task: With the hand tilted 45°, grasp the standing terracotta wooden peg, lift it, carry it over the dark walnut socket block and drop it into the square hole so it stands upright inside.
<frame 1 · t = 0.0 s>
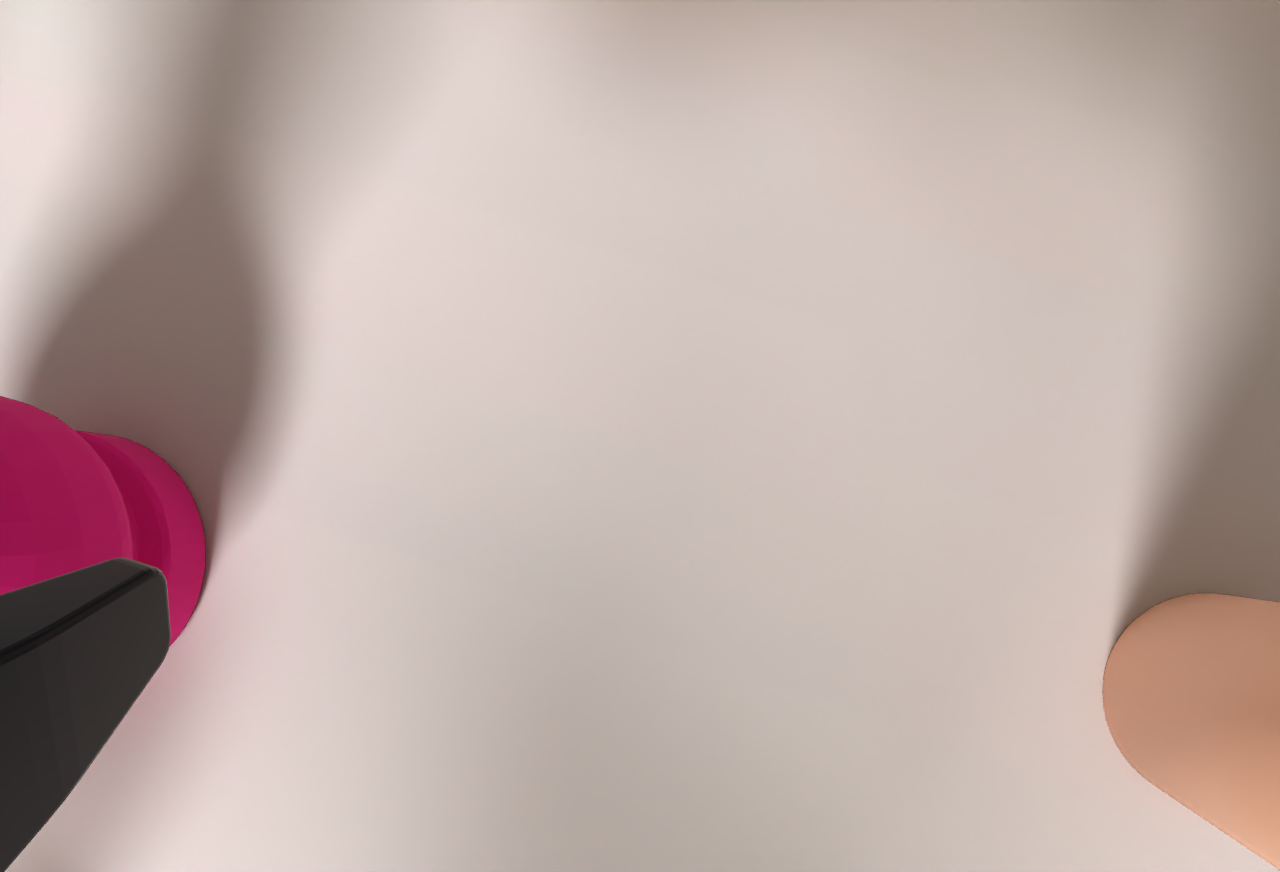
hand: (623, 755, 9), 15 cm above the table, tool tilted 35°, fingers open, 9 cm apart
peg: (1212, 698, 22), on the table
pepper mill: (97, 558, 26), on the table
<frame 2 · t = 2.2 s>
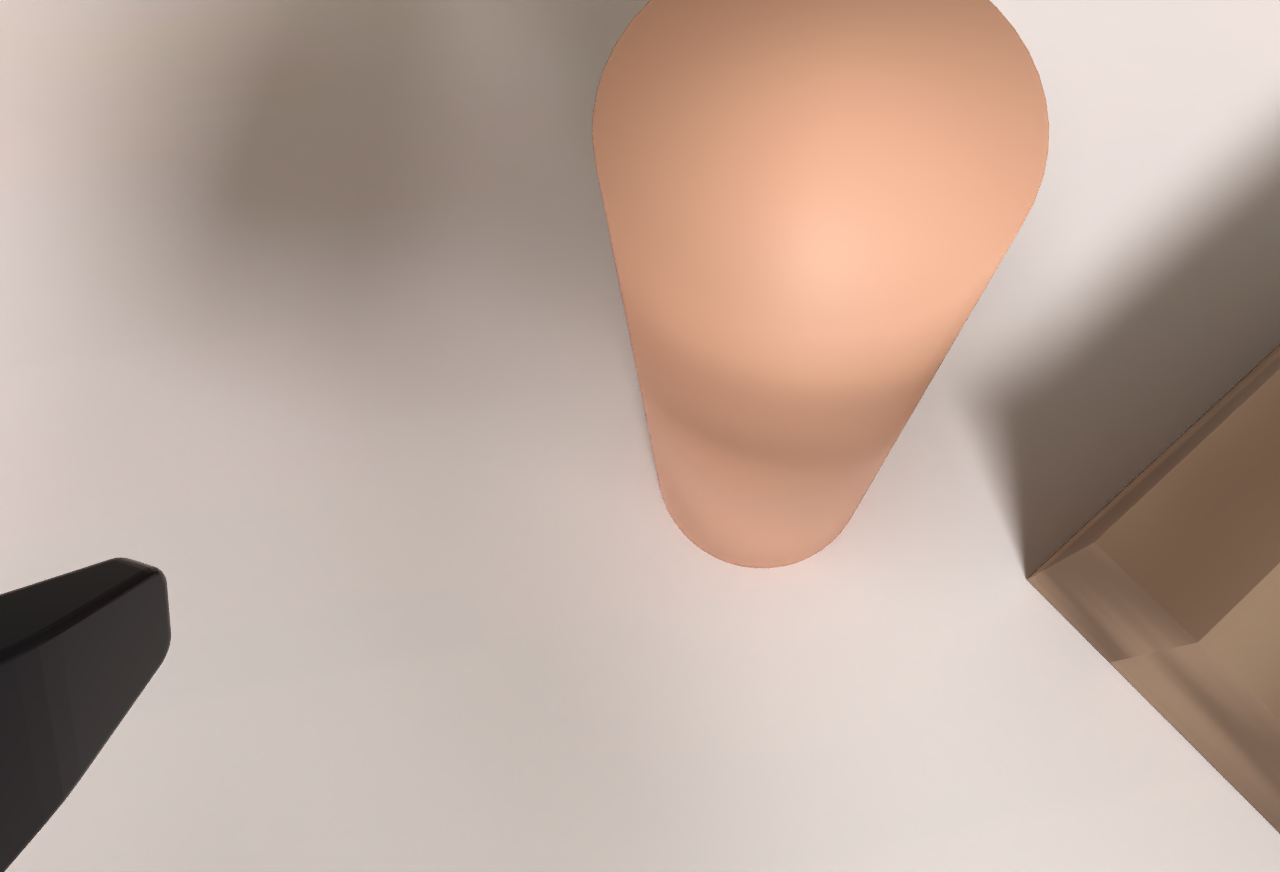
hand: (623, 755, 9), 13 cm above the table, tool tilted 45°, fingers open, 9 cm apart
peg: (759, 466, 23), on the table
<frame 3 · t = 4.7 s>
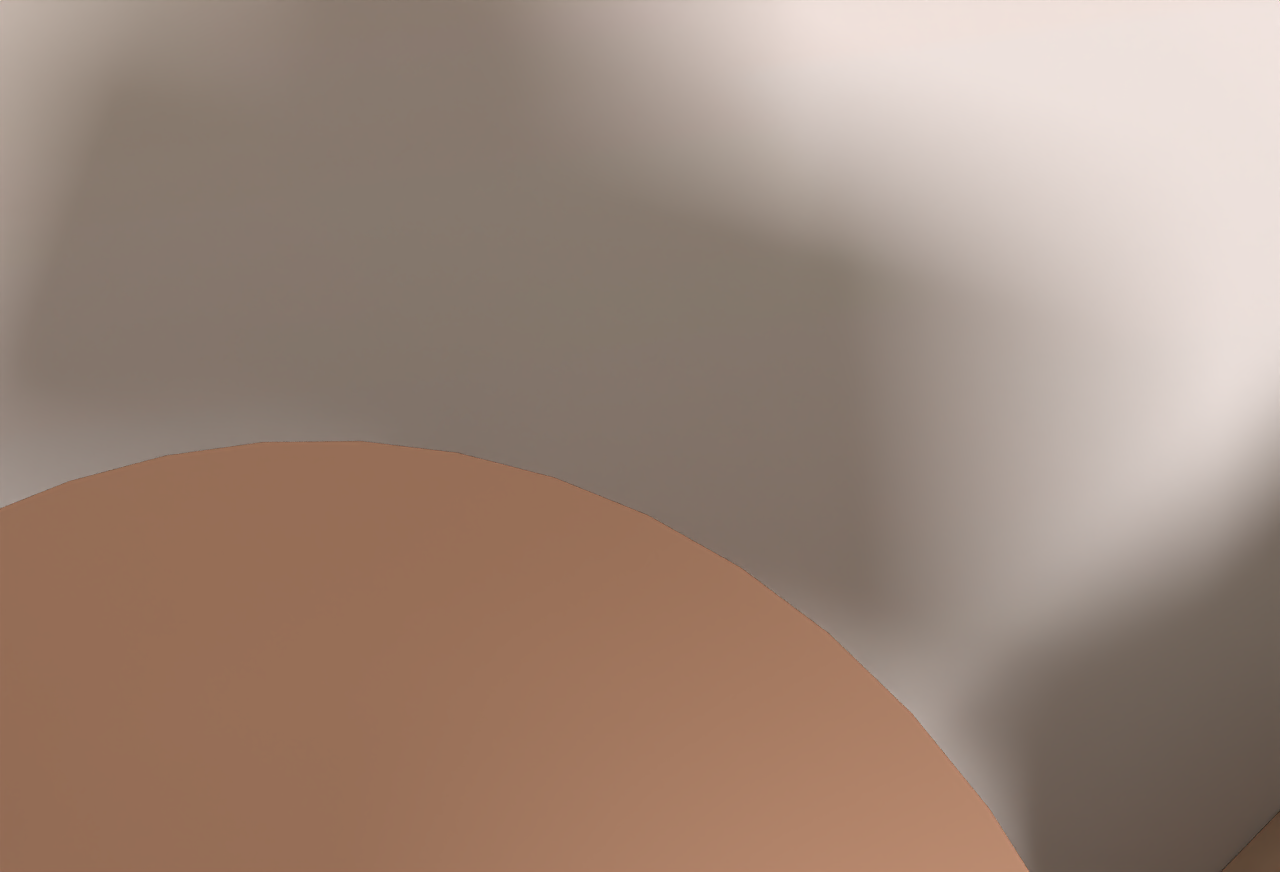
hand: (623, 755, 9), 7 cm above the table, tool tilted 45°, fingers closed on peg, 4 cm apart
peg: (631, 849, 15), on the table, touching gripper
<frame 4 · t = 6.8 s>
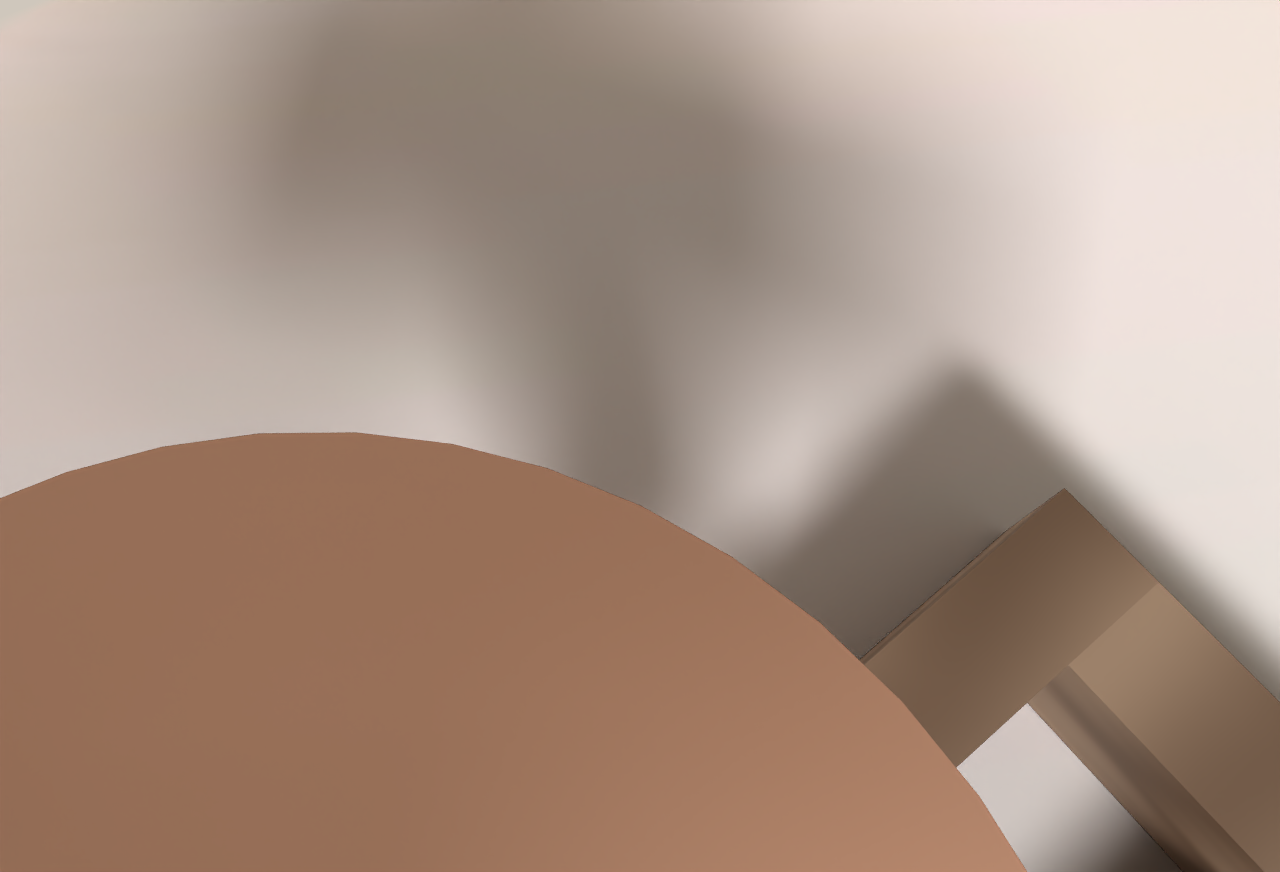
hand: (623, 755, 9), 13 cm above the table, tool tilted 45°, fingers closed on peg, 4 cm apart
peg: (630, 847, 15), point 7 cm above the table, touching gripper
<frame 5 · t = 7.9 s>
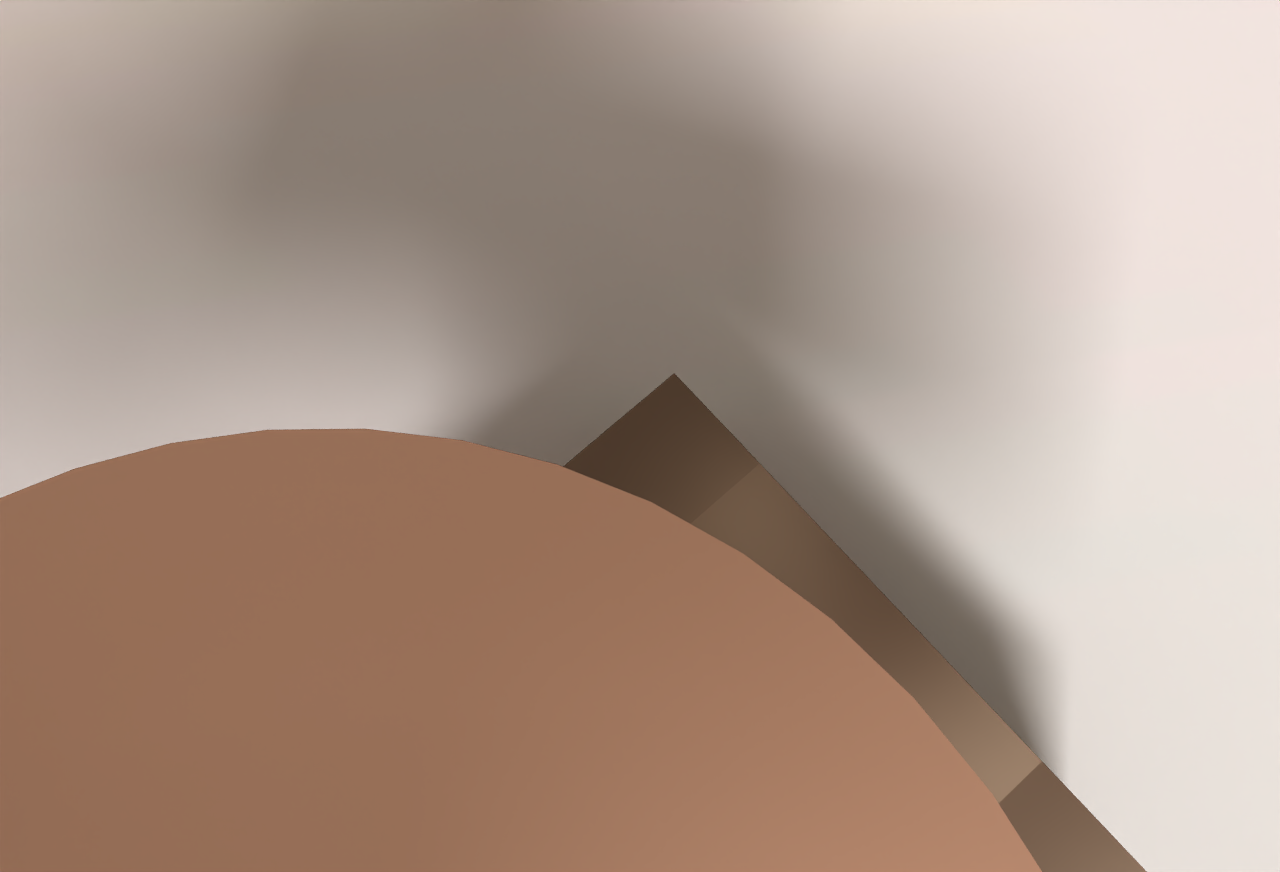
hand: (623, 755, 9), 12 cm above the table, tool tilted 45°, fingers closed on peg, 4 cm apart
peg: (632, 847, 15), point 5 cm above the table, touching gripper
socket: (656, 818, 20), on the table
when the fingers open (9 cm above the table, at t = 8.9 s): peg drops 2 cm, resting in socket.
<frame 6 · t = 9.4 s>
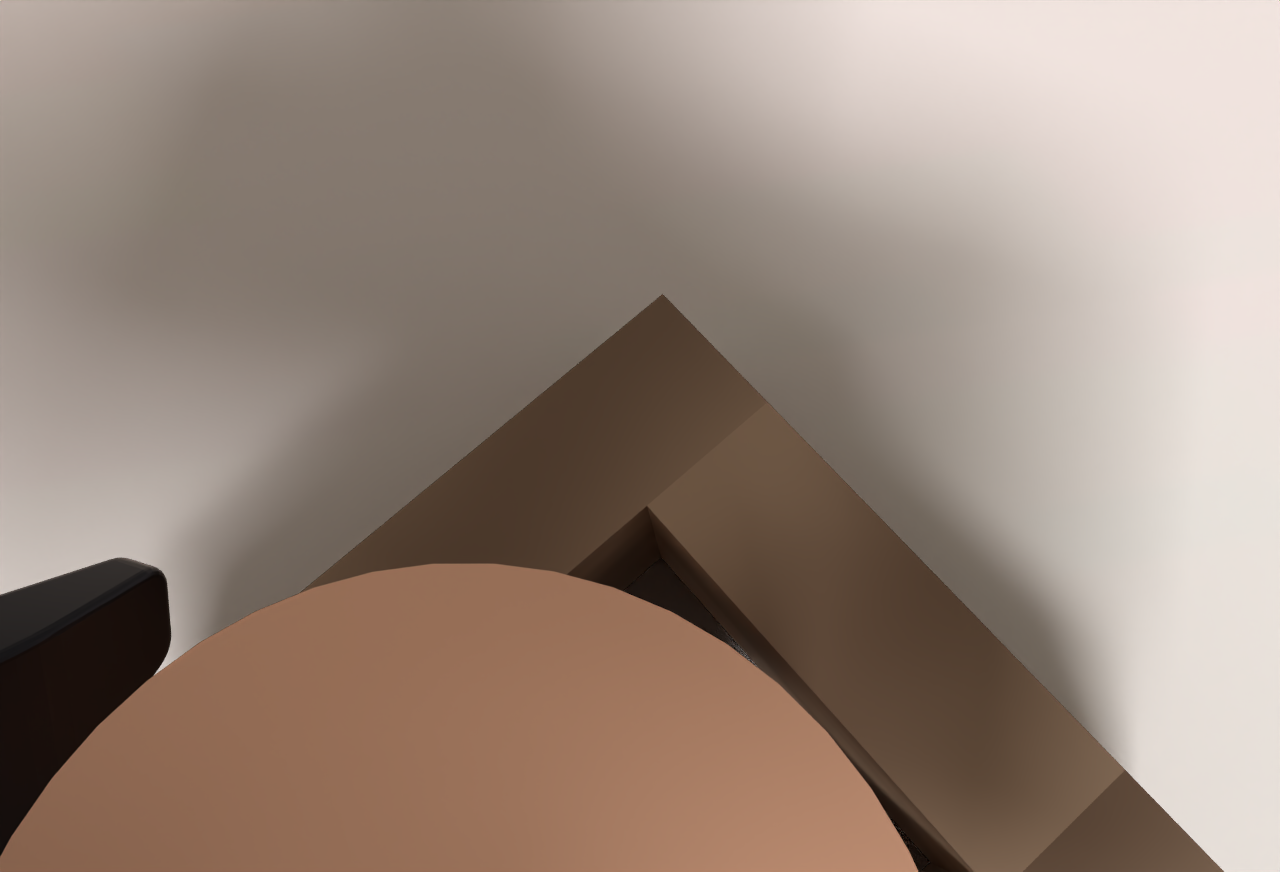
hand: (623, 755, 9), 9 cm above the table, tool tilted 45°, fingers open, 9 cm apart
peg: (641, 838, 17), resting in socket
socket: (641, 837, 17), on the table
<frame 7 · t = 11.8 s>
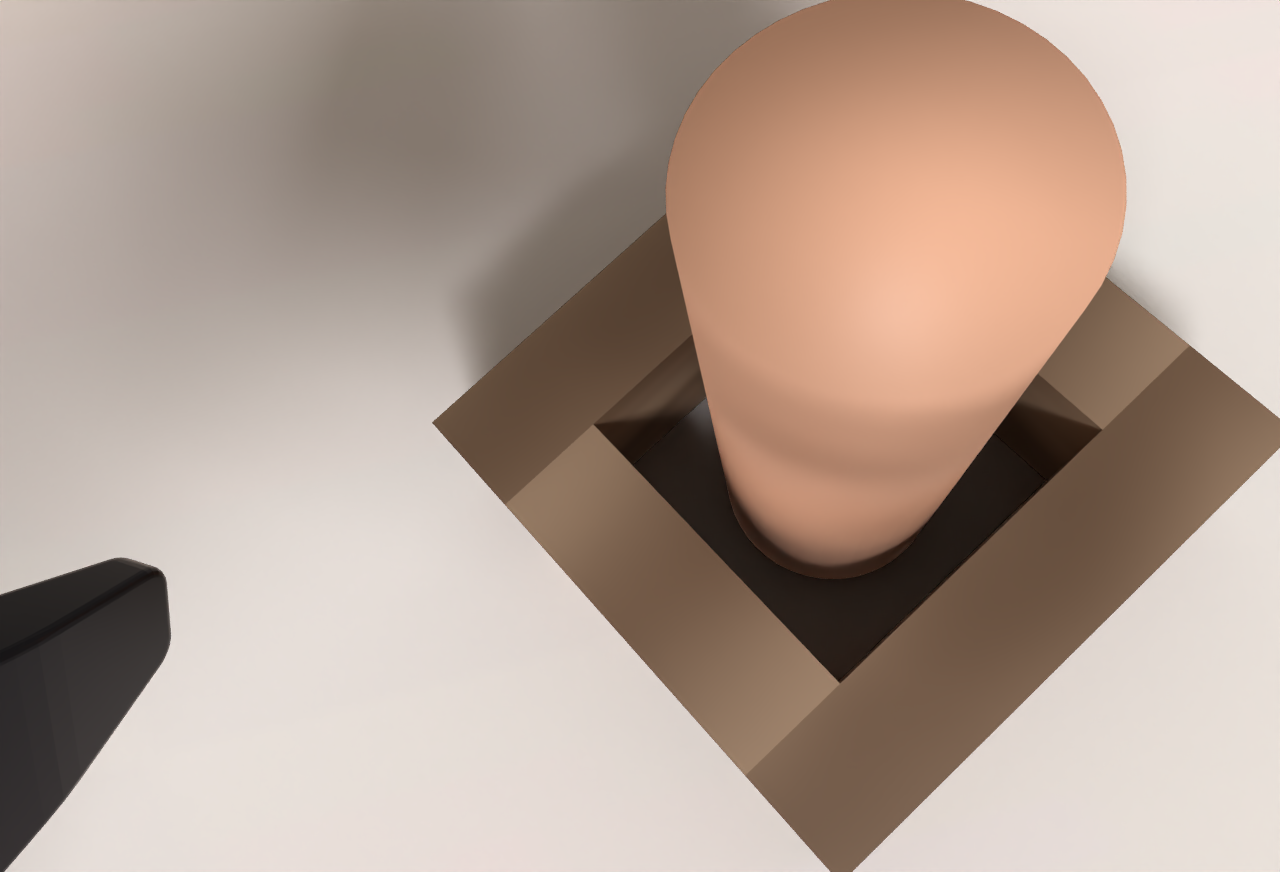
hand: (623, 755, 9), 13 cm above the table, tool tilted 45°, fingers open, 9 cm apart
peg: (829, 477, 23), resting in socket
socket: (829, 476, 23), on the table
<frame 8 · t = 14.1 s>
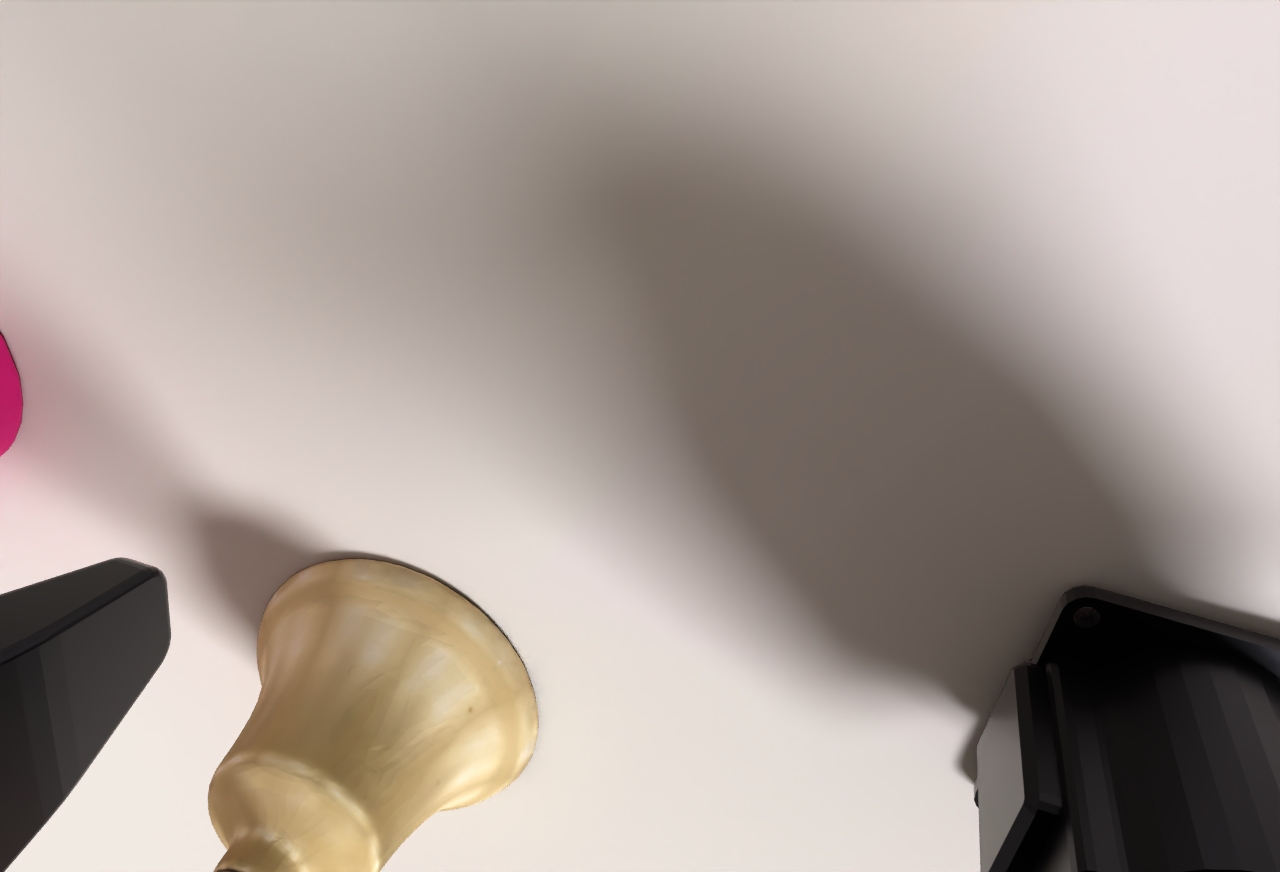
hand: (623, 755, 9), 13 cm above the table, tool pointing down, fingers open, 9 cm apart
hand bell: (401, 679, 28), on the table
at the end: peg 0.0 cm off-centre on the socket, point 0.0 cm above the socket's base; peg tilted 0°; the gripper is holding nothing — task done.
